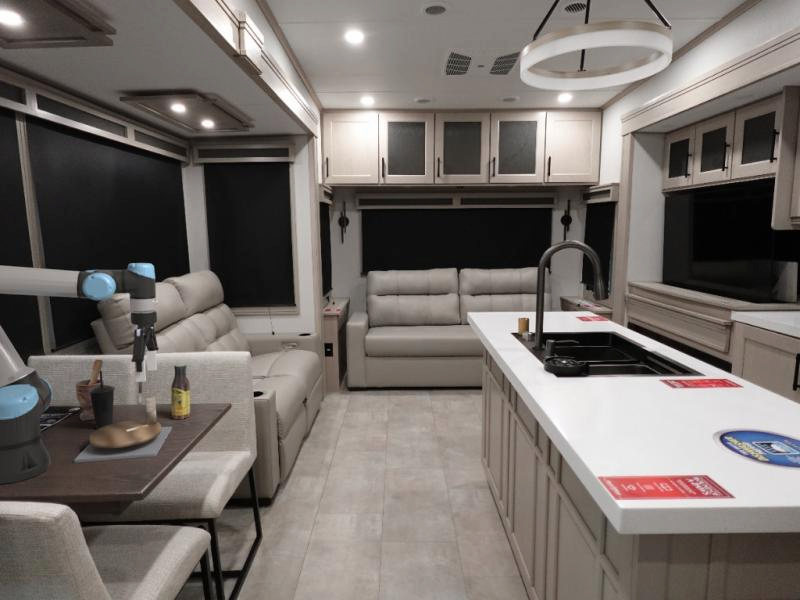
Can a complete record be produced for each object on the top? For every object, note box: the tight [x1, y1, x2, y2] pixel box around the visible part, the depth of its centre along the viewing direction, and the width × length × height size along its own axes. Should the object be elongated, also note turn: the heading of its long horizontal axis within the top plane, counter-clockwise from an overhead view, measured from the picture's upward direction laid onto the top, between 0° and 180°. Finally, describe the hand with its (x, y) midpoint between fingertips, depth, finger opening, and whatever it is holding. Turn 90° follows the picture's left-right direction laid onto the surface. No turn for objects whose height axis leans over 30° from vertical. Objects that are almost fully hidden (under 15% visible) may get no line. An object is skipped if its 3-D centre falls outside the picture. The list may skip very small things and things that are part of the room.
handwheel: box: [89, 395, 162, 448], centre depth 158 cm, size 20×20×12 cm
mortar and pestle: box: [75, 359, 105, 422], centre depth 182 cm, size 12×9×20 cm
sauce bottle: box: [170, 362, 191, 420], centre depth 182 cm, size 6×6×20 cm
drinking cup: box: [89, 370, 116, 430], centre depth 172 cm, size 8×8×20 cm
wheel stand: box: [73, 426, 173, 464], centre depth 159 cm, size 22×22×1 cm
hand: (146, 375), depth 163 cm, fingers open, 13 cm apart
